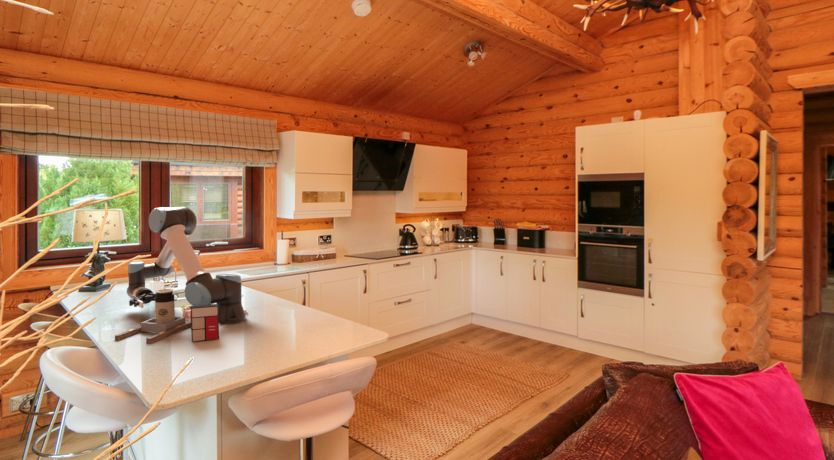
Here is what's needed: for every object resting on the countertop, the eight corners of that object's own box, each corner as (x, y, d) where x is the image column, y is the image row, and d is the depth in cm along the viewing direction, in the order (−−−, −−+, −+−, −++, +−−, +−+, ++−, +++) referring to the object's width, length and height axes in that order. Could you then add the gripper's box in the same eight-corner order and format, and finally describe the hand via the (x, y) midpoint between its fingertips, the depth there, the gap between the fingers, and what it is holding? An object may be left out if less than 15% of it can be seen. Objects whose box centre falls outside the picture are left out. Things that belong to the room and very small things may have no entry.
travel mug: (161, 325, 234) (160, 288, 232) (178, 326, 234) (177, 288, 232) (152, 330, 226) (151, 292, 224) (169, 331, 226) (168, 292, 224)
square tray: (185, 325, 234) (185, 317, 233) (166, 333, 221) (165, 324, 221) (161, 323, 236) (161, 315, 236) (141, 331, 224) (140, 322, 223)
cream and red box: (191, 342, 210) (190, 308, 209) (191, 339, 214) (190, 305, 213) (219, 339, 214) (218, 305, 213) (219, 337, 218) (218, 303, 217)
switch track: (191, 326, 234) (191, 321, 234) (150, 343, 209) (150, 338, 208) (158, 323, 238) (158, 319, 237) (114, 339, 212) (114, 334, 212)
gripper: (169, 298, 259) (185, 306, 245) (115, 306, 242) (129, 315, 227) (169, 284, 259) (184, 291, 244) (115, 291, 241) (128, 298, 226)
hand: (158, 302), depth 235 cm, fingers open, 13 cm apart
